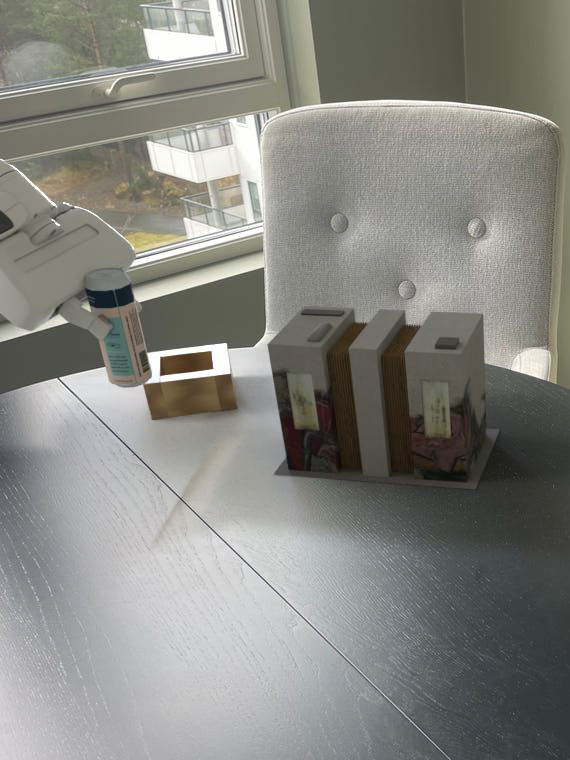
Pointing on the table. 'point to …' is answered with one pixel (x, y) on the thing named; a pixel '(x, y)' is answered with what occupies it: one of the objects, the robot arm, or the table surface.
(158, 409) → the holder
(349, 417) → the bookend
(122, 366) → the supplement bottle
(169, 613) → the table surface
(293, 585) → the table surface
